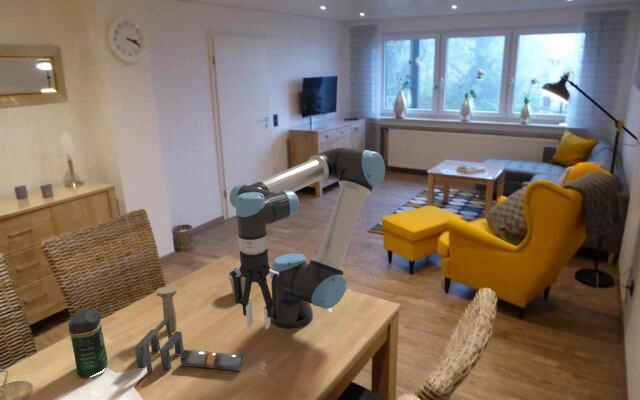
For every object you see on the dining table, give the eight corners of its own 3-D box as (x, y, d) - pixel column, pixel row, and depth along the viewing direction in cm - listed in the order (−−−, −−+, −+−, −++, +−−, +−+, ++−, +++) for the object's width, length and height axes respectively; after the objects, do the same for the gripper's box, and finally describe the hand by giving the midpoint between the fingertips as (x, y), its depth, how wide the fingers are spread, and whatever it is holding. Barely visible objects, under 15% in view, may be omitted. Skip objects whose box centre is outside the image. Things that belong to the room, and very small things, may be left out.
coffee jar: (105, 376, 130) (95, 320, 125) (75, 382, 128) (63, 325, 123) (110, 356, 139) (100, 303, 134) (82, 362, 137) (71, 308, 131)
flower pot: (233, 287, 182) (231, 267, 179) (256, 288, 180) (254, 268, 178) (225, 298, 173) (223, 278, 170) (249, 299, 172) (247, 279, 169)
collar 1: (160, 349, 142) (157, 329, 140) (144, 368, 133) (140, 348, 131) (154, 349, 142) (151, 329, 140) (137, 368, 133) (134, 347, 131)
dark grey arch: (183, 351, 141) (181, 331, 138) (168, 371, 131) (165, 350, 129) (178, 351, 141) (175, 331, 139) (162, 370, 132) (159, 349, 130)
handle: (179, 333, 151) (173, 293, 146) (159, 333, 150) (154, 293, 146) (183, 325, 155) (178, 286, 151) (164, 325, 155) (159, 286, 151)
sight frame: (173, 346, 143) (169, 316, 140) (150, 374, 130) (145, 342, 127) (171, 346, 144) (167, 315, 140) (147, 374, 130) (142, 341, 127)
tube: (244, 360, 134) (242, 351, 132) (240, 373, 131) (237, 364, 128) (188, 355, 137) (185, 346, 135) (182, 368, 134) (179, 359, 131)
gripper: (217, 253, 119) (224, 330, 125) (281, 257, 116) (285, 335, 122) (227, 243, 126) (234, 316, 132) (288, 245, 123) (292, 320, 129)
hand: (258, 325), depth 127 cm, fingers open, 4 cm apart
